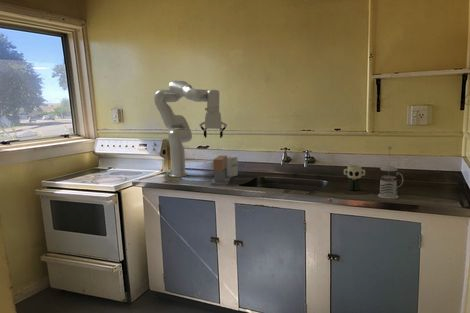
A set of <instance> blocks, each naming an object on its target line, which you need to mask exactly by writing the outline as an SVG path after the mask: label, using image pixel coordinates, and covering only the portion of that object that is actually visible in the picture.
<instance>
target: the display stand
mask: <svg viewBox="0 0 470 313" xmlns="http://www.w3.org/2000/svg"><path fill="white" fill-rule="evenodd" d="M231 178H232V177H231V176H227V167H226V168H225V169H224V170H223V171H214V170H213V179H212V180H211V182H210V186H228V185H229V183H230V181H231Z"/></svg>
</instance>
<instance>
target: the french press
mask: <svg viewBox="0 0 470 313" xmlns="http://www.w3.org/2000/svg"><path fill="white" fill-rule="evenodd" d="M387 149H388V157H390V153H391V152H390V151H391V150H390V149H392V146H390V145H388V146H387ZM379 169H380V171H383V172H388V175H381V176H380V180H379V193H378V194H377V196H378V198H383V199H391V198H392V199H398V198H399V195H398V188H400V187H401V186H402V185H403V184H404V176H403V174H402V173H400V172H396V171H398V168H397V167H395V166H393V165H390V164H388V165H385V166H381V167H380V168H379ZM390 172H396V173H395V174H396V176H398V175H400V176H401V184H400V185H398V184H397V183H398V180H397V177H396V176H394V175H390Z"/></svg>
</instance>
